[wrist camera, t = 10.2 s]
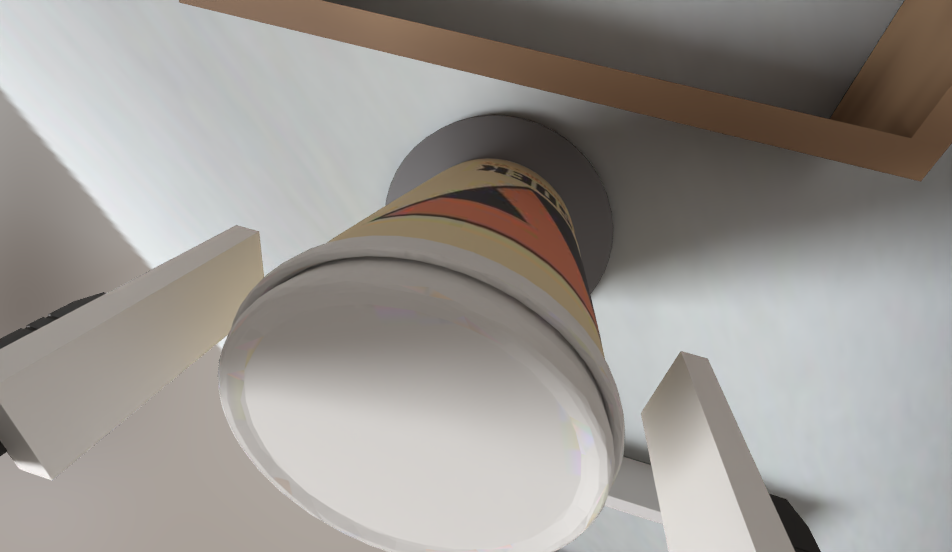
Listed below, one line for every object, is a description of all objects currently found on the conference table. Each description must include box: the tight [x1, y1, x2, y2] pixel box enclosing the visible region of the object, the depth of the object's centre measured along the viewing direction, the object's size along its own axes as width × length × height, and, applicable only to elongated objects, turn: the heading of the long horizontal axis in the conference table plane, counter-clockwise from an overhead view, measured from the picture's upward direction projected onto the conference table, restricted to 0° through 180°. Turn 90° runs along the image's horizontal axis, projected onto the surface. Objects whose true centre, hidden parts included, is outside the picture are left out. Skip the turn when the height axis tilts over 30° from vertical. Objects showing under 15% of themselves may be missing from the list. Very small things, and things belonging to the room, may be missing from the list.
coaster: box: [386, 115, 613, 294], centre depth 19 cm, size 11×11×1 cm
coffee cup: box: [218, 158, 625, 552], centre depth 14 cm, size 9×9×12 cm
